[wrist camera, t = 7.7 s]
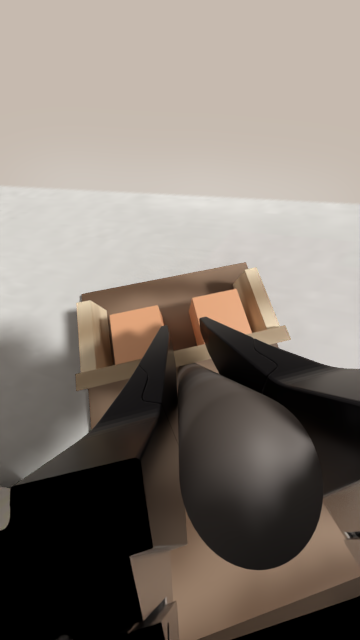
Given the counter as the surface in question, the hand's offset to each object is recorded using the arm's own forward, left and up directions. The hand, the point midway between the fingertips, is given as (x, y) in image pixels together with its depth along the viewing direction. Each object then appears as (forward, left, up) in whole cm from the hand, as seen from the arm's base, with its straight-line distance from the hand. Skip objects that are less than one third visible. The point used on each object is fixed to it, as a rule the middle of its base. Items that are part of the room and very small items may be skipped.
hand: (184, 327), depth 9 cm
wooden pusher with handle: (0, 0, -6) cm, 6 cm away
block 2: (+1, -4, -7) cm, 8 cm away
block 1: (+1, +3, -7) cm, 8 cm away
